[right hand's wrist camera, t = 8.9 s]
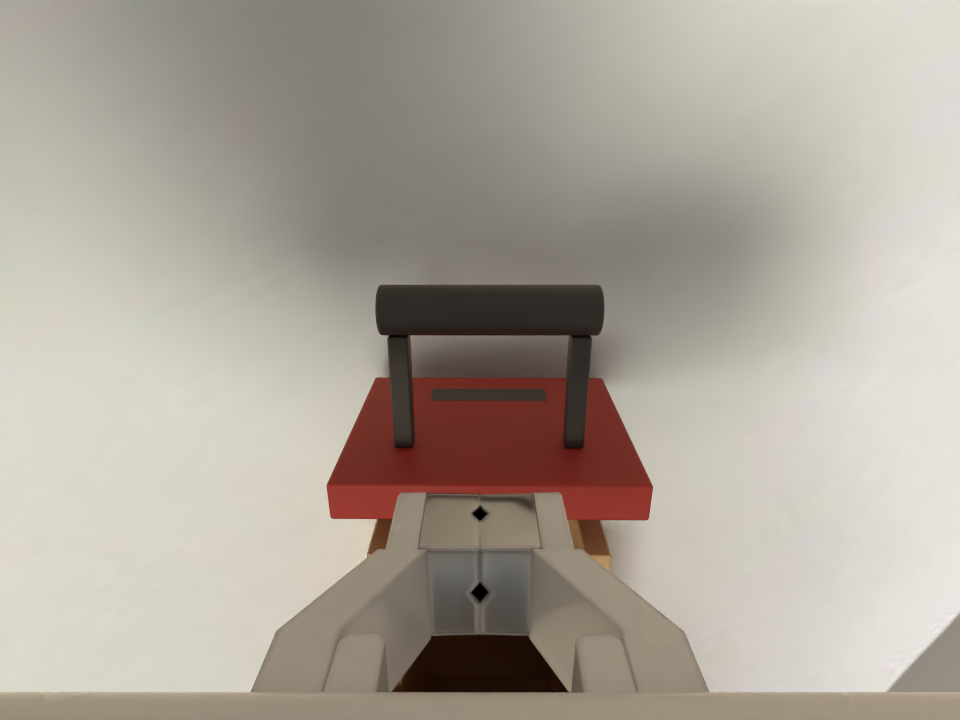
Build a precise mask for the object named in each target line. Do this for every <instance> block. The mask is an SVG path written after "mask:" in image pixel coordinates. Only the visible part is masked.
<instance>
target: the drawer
mask: <svg viewBox="0 0 960 720" xmlns="http://www.w3.org/2000/svg"><path fill="white" fill-rule="evenodd" d="M375 310H376V323H377V328H378V331H379V333H380V334H381V335H389V336H388V338H387V341H388V356H389V371H390V378H375V381H374V383H373V385H372V387H371V389H370V392H369V394H368V396H367V398H366V400H365V402H364V405H363V407H362V409H361V411H360V413H359V416H358V418H357V420H356V422H355V424H354V427H353V429H352V431H351V433H350V435H349V437H348V440H347V442H346V444H345V446H344V448H343V451H342V453H341V455H340V457H339V459H338V462H337V464H336V466H335V468H334V470H333V472H332V475H331V477H330V479H329V481H328V483H327V493H328V501H329V509H330V516H331V518H333V519H377V521H376V524H375V528H374V531H373V535H372V538H371V542H370V545H369V549H368V552H367V557H369V556H370V555H371V554H372V553H374V552H375V551H376V550H377V549H386V546H387V541H388V537H389V533H390V528H391V524H392V520H393V515H394V511H395V507H396V502H397V498H398V496H399V494H400V493H401V492H426V493H427V494H428V492H431V493H479V494H525V493H543V492H559V493H560V494H561V495H562V499H563V503H564V507H565V512H566V516H567V520H568V524H569V529H570V533H571V537H572V541H573V546H574V549H583V550H584V551H585V552H586V553H588V554H589V555H590V556H591V557H593V558H594V559H595V560H596V561H597V562H599V563H600V564H601V565H602V566H604V567H605V568H606V569H607V570H609V571H610V565H611V553H610V550H609V546H608V543H607V540H606V536H605V533H604V529H603V526H602V523H601V520H648V518H649V513H650V505H651V497H652V490H653V486H652V484H651V482H650V479H649V477H648V475H647V473H646V471H645V469H644V467H643V465H642V463H641V460H640V458H639V456H638V454H637V452H636V450H635V448H634V446H633V443H632V441H631V439H630V437H629V435H628V433H627V431H626V429H625V426H624V424H623V422H622V420H621V418H620V416H619V414H618V412H617V410H616V407H615V405H614V403H613V401H612V399H611V397H610V395H609V393H608V390H607V388H606V386H605V384H604V382H603V380H602V379H601V378H589V371H590V358H591V345H592V338H591V336H590V335H599V334H600V333H601V330H602V327H603V321H604V296H603V291H602V288H601V286H599V285H380V286H379V287H378V290H377V294H376V307H375ZM410 335H569V341H568V358H567V375H566V378H412V362H411V343H410ZM392 692H564V693H569V692H568V690H567V689H566V688H565V686H564V685H563V684H562V682H561V681H560V679H559V678H558V677H557V675H556V674H555V673H554V671H553V670H552V669H551V667H550V666H549V665H548V663H547V662H546V660H545V659H544V658H543V656H542V655H541V654H540V652H539V651H538V650H537V648H536V647H535V646H534V644H533V643H532V641H531V640H530V639H529V636H517V635H482V634H477V635H442V636H431V639H430V641H429V642H428V643H427V645H426V646H425V647H424V649H423V650H422V652H421V653H420V654H419V656H418V657H417V658H416V660H415V661H414V662H413V664H412V665H411V666H410V668H409V669H408V670H407V672H406V673H405V674H404V676H403V677H402V679H401V680H400V681H399V683H398V684H397V685H396V687H395V688H394V689H393V691H392Z"/></svg>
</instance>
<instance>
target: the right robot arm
mask: <svg viewBox="0 0 960 720" xmlns="http://www.w3.org/2000/svg"><path fill="white" fill-rule="evenodd" d="M477 634H482V635H517V636H529V639H530V640H531V641H532V643H533V644H534V646H535V647H536V648H537V650H538V651H539V652H540V654H541V655H542V656H543V658H544V659H545V660H546V662H547V663H548V665H549V666H550V667H551V669H552V670H553V671H554V673H555V674H556V675H557V677H558V678H559V679H560V681H561V682H562V684H563V685H564V686H565V688H566V689H567V690H568V692H569V693H564V692H392V691H393V689H394V688H395V687H396V685H397V684H398V683H399V681H400V680H401V679H402V677H403V676H404V674H405V673H406V672H407V670H408V669H409V668H410V666H411V665H412V664H413V662H414V661H415V660H416V658H417V657H418V656H419V654H420V653H421V652H422V650H423V649H424V647H425V646H426V645H427V643H428V642H429V641H430V639H431V636H442V635H477ZM0 720H960V692H709V690H708V688H707V685H706V683H705V681H704V678H703V676H702V673H701V671H700V669H699V666H698V664H697V661H696V659H695V656H694V654H693V652H692V649H691V647H690V644H689V642H688V640H687V637H686V635H685V632H684V631H683V630H681V629H680V628H679V627H678V626H677V625H675V624H674V623H673V622H672V621H670V620H669V619H668V618H667V617H665V616H664V615H663V614H662V613H660V612H659V611H658V610H657V609H656V608H654V607H653V606H652V605H651V604H649V603H648V602H647V601H646V600H644V599H643V598H642V597H641V596H639V595H638V594H637V593H636V592H635V591H633V590H632V589H631V588H630V587H628V586H627V585H626V584H625V583H623V582H622V581H621V580H620V579H618V578H617V577H616V576H615V575H614V574H612V573H611V572H610V571H609V570H607V569H606V568H605V567H604V566H602V565H601V564H600V563H599V562H597V561H596V560H595V559H594V558H593V557H591V556H590V555H589V554H588V553H586V552H585V551H584V550H583V549H574V546H573V541H572V537H571V533H570V529H569V524H568V520H567V516H566V512H565V507H564V503H563V499H562V495H561V494H560V493H559V492H543V493H525V494H479V493H431V492H428V494H427V493H426V492H401V493H400V494H399V496H398V498H397V502H396V507H395V511H394V515H393V520H392V524H391V528H390V533H389V537H388V541H387V546H386V549H377V550H376V551H375V552H374V553H372V554H371V555H370V556H369V557H367V558H366V559H365V560H364V561H363V562H361V563H360V564H359V565H358V566H356V567H355V568H354V569H353V570H351V571H350V572H349V573H348V574H346V575H345V576H344V577H343V578H341V579H340V580H339V581H338V582H336V583H335V584H334V585H333V586H331V587H330V588H329V589H328V590H327V591H325V592H324V593H323V594H322V595H320V596H319V597H318V598H317V599H315V600H314V601H313V602H312V603H310V604H309V605H308V606H307V607H305V608H304V609H303V610H302V611H300V612H299V613H298V614H297V615H295V616H294V617H293V618H292V619H291V620H289V621H288V622H287V623H286V624H284V625H283V626H282V627H281V628H279V629H278V630H277V631H276V633H275V635H274V638H273V640H272V643H271V645H270V647H269V650H268V652H267V654H266V657H265V659H264V662H263V664H262V666H261V669H260V671H259V673H258V676H257V678H256V681H255V683H254V685H253V688H252V690H251V692H0Z"/></svg>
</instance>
